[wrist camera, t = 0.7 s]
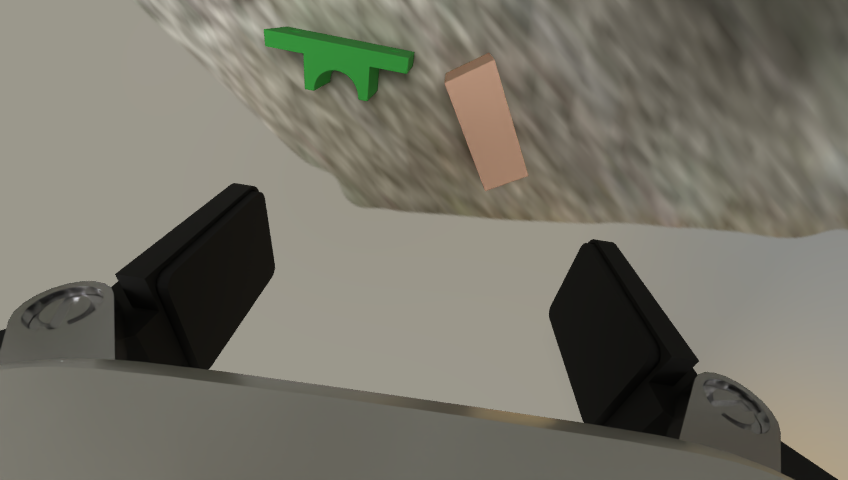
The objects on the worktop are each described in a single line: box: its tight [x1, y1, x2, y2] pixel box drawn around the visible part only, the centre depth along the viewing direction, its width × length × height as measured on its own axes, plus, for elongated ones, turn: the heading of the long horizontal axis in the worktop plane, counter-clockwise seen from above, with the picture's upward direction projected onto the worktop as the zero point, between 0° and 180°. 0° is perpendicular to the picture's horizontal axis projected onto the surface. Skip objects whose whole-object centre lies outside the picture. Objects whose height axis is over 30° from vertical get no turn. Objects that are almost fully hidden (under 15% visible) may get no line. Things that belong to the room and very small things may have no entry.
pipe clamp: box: [264, 27, 414, 101], centre depth 28 cm, size 11×4×5 cm, turn 81°
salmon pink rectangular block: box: [445, 53, 528, 191], centre depth 30 cm, size 4×10×5 cm, turn 24°
